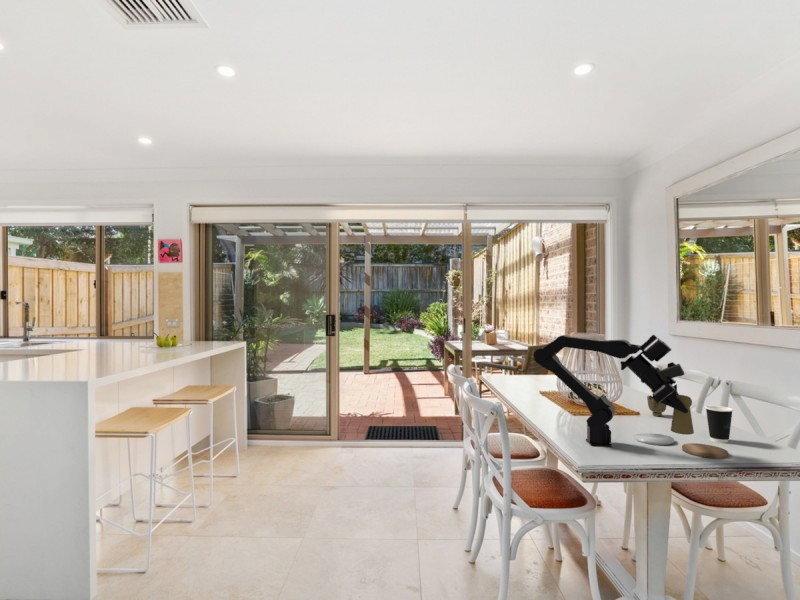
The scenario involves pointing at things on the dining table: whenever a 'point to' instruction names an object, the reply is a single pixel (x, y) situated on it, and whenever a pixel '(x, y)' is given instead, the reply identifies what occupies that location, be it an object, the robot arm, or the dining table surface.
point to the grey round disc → (654, 439)
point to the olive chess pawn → (682, 418)
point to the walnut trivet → (705, 450)
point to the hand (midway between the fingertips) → (687, 410)
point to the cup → (655, 406)
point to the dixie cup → (719, 422)
